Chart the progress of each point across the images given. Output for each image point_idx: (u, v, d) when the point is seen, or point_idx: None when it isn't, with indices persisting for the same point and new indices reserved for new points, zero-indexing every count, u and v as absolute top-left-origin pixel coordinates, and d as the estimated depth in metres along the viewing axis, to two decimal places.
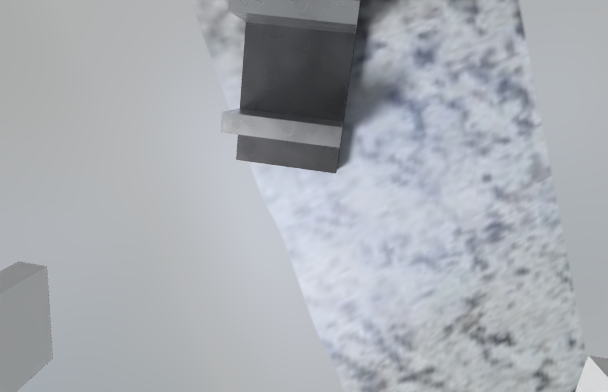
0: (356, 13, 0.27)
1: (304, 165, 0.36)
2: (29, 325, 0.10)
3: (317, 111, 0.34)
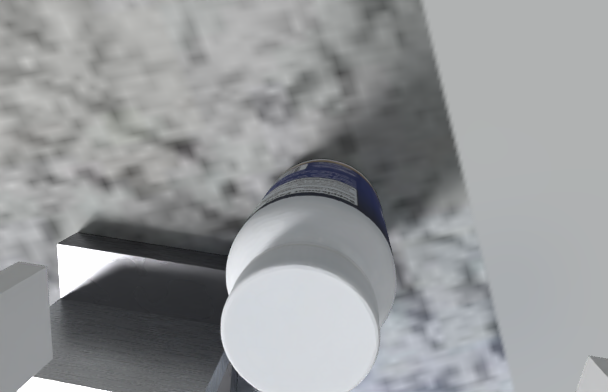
0: None
1: None
2: (29, 325, 0.10)
3: None
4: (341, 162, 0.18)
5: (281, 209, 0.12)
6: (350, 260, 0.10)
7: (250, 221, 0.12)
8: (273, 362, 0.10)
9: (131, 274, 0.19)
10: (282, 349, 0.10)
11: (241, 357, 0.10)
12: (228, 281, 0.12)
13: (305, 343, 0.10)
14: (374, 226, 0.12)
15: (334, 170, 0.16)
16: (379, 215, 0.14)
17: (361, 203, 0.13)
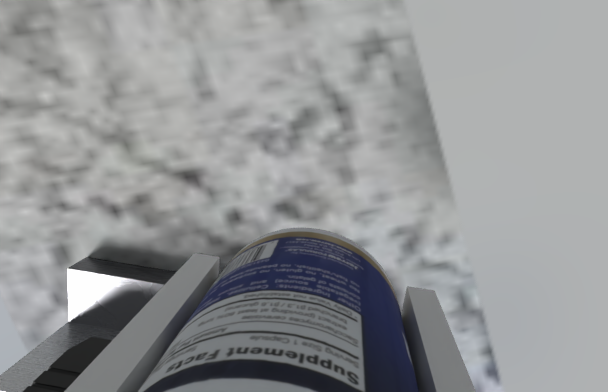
0: None
1: None
2: None
3: None
4: (334, 234, 0.11)
5: None
6: None
7: None
8: None
9: (138, 298, 0.20)
10: None
11: None
12: None
13: None
14: None
15: (321, 262, 0.09)
16: (406, 372, 0.07)
17: (372, 370, 0.06)
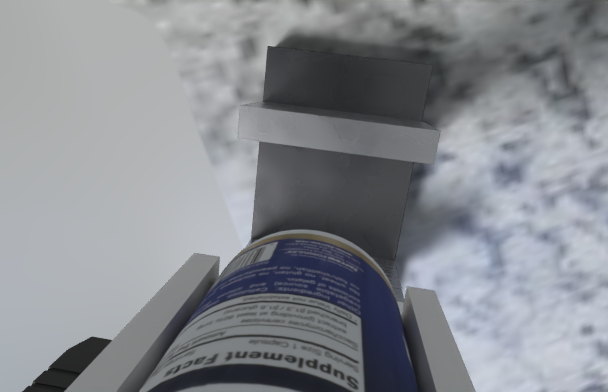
0: (434, 148, 0.18)
1: None
2: None
3: (358, 246, 0.25)
4: (334, 235, 0.11)
5: None
6: None
7: None
8: None
9: (332, 72, 0.22)
10: None
11: None
12: None
13: None
14: None
15: (320, 264, 0.09)
16: (406, 376, 0.07)
17: (372, 374, 0.06)
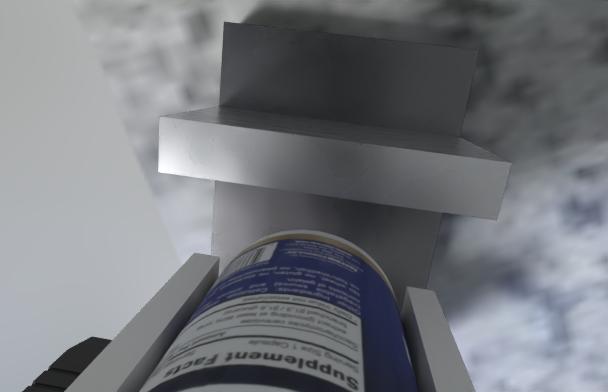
0: (498, 193, 0.10)
1: None
2: None
3: None
4: (334, 236, 0.11)
5: None
6: None
7: None
8: None
9: (323, 62, 0.15)
10: None
11: None
12: None
13: None
14: None
15: (320, 264, 0.09)
16: (406, 376, 0.07)
17: (372, 375, 0.06)
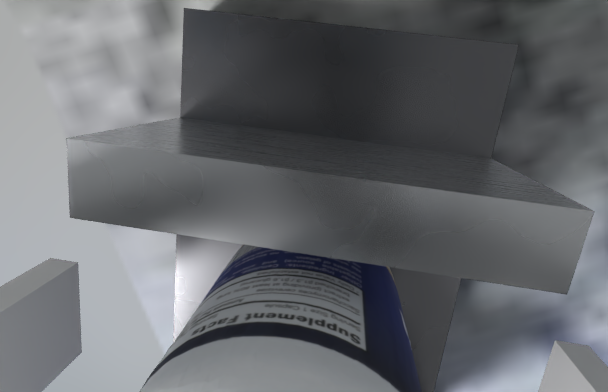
0: (571, 255, 0.07)
1: None
2: (61, 319, 0.10)
3: None
4: None
5: (206, 380, 0.06)
6: None
7: None
8: None
9: (313, 61, 0.11)
10: None
11: None
12: None
13: None
14: None
15: None
16: (402, 340, 0.08)
17: (372, 334, 0.07)
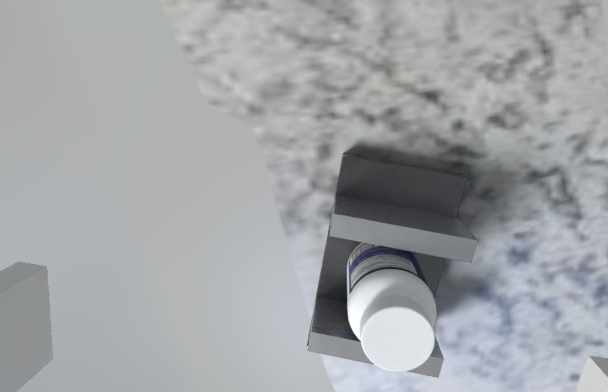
0: (472, 252, 0.25)
1: None
2: (29, 325, 0.10)
3: None
4: None
5: (382, 277, 0.24)
6: (420, 305, 0.23)
7: (365, 281, 0.24)
8: (384, 351, 0.22)
9: (391, 178, 0.29)
10: (389, 345, 0.22)
11: (369, 348, 0.22)
12: (351, 311, 0.24)
13: (400, 342, 0.22)
14: (427, 286, 0.24)
15: None
16: (424, 277, 0.26)
17: (417, 272, 0.25)
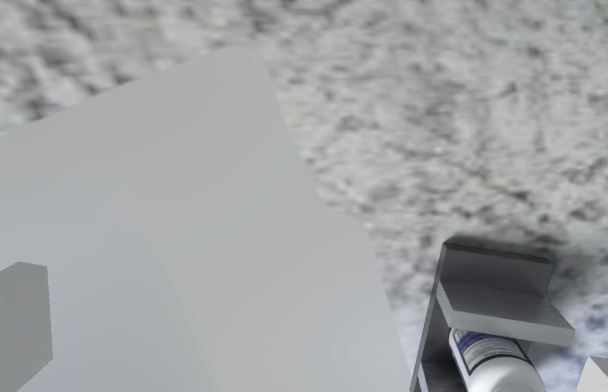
0: (570, 338, 0.30)
1: None
2: (29, 325, 0.10)
3: None
4: None
5: (501, 365, 0.29)
6: (536, 391, 0.28)
7: (485, 368, 0.30)
8: None
9: (488, 266, 0.35)
10: None
11: None
12: None
13: None
14: (536, 371, 0.30)
15: None
16: None
17: (524, 356, 0.31)
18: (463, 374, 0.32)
